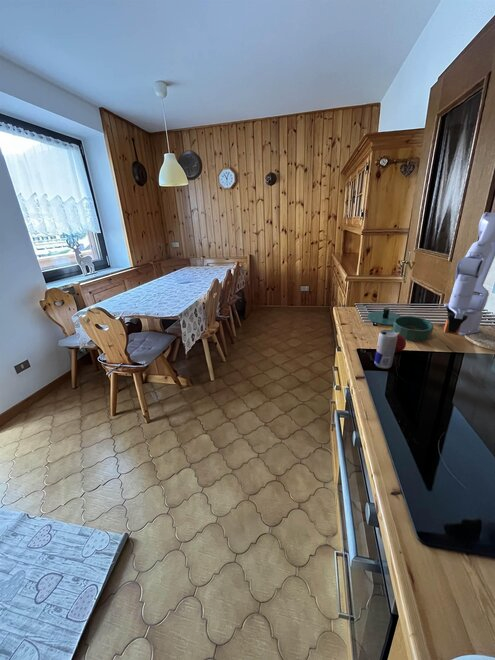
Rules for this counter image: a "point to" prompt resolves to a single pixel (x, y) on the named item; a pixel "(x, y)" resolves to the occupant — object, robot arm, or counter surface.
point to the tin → (413, 322)
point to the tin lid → (383, 317)
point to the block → (447, 328)
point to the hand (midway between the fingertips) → (451, 329)
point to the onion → (400, 343)
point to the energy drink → (385, 349)
